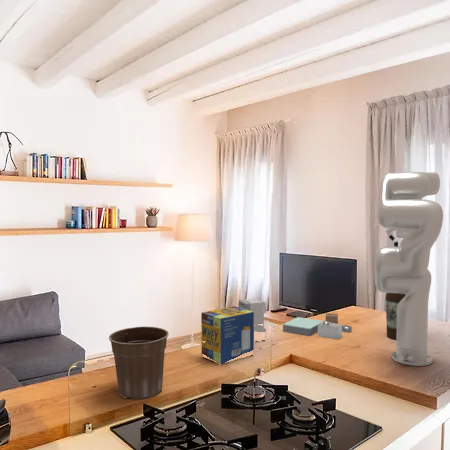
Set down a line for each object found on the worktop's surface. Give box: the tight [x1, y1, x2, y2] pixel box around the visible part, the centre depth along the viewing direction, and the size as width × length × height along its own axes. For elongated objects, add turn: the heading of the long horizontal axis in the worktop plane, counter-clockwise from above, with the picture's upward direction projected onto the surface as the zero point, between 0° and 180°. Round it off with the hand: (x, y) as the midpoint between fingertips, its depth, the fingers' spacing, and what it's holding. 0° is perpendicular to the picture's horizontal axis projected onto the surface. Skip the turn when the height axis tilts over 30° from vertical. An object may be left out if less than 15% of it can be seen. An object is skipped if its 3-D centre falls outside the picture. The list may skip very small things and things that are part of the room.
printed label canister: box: [385, 293, 406, 341], centre depth 178 cm, size 11×11×25 cm
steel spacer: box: [342, 325, 353, 333], centre depth 187 cm, size 4×4×2 cm
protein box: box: [200, 305, 255, 365], centre depth 156 cm, size 10×15×16 cm
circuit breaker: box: [238, 298, 267, 333], centre depth 175 cm, size 8×14×15 cm, turn 111°
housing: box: [317, 320, 343, 341], centre depth 180 cm, size 5×8×6 cm, turn 55°
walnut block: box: [325, 312, 339, 324], centre depth 195 cm, size 5×5×5 cm
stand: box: [282, 316, 324, 337], centre depth 189 cm, size 14×12×3 cm
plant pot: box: [108, 326, 169, 400], centre depth 127 cm, size 16×16×16 cm
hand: (410, 253), depth 172 cm, fingers open, 9 cm apart
